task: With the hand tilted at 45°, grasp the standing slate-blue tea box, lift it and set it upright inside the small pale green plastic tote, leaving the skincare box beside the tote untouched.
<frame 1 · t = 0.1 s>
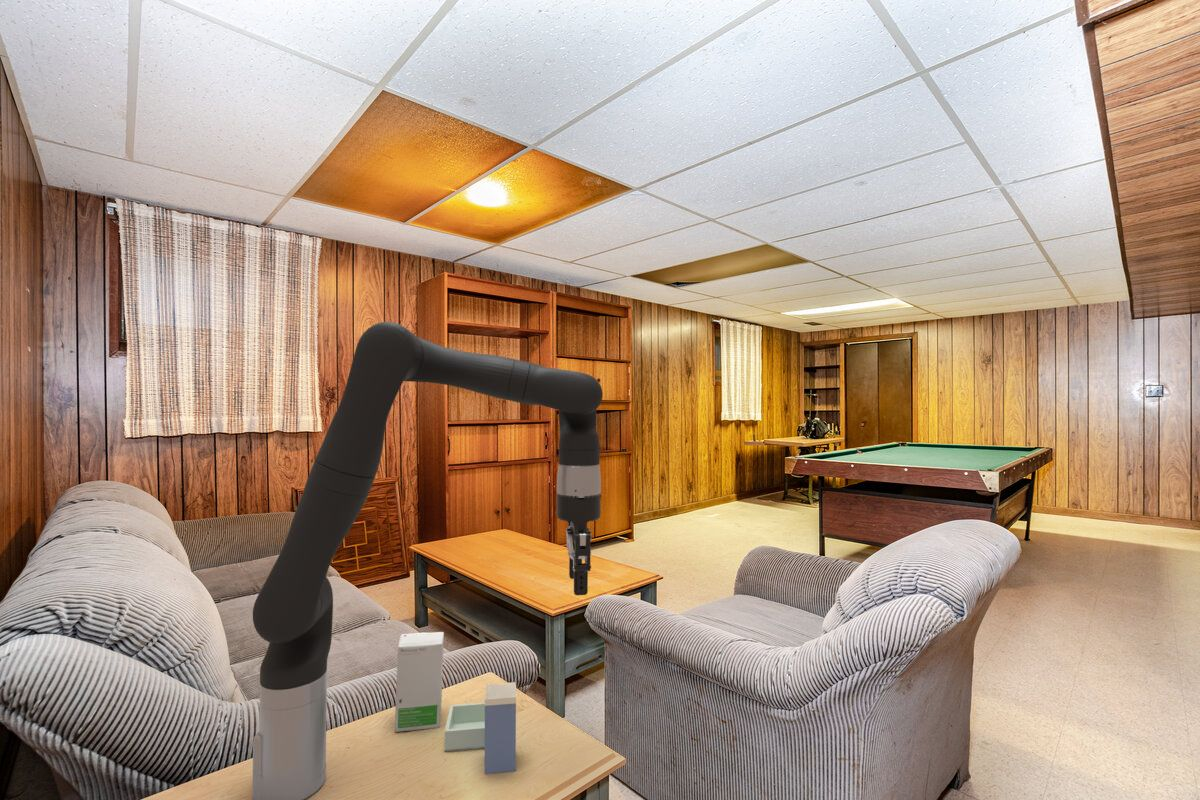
hand: (577, 586, 93), 29 cm above the table, tool pointing down, fingers open, 8 cm apart
tote: (474, 734, 99), on the table
tea box: (500, 763, 91), on the table
skincare box: (419, 721, 104), on the table
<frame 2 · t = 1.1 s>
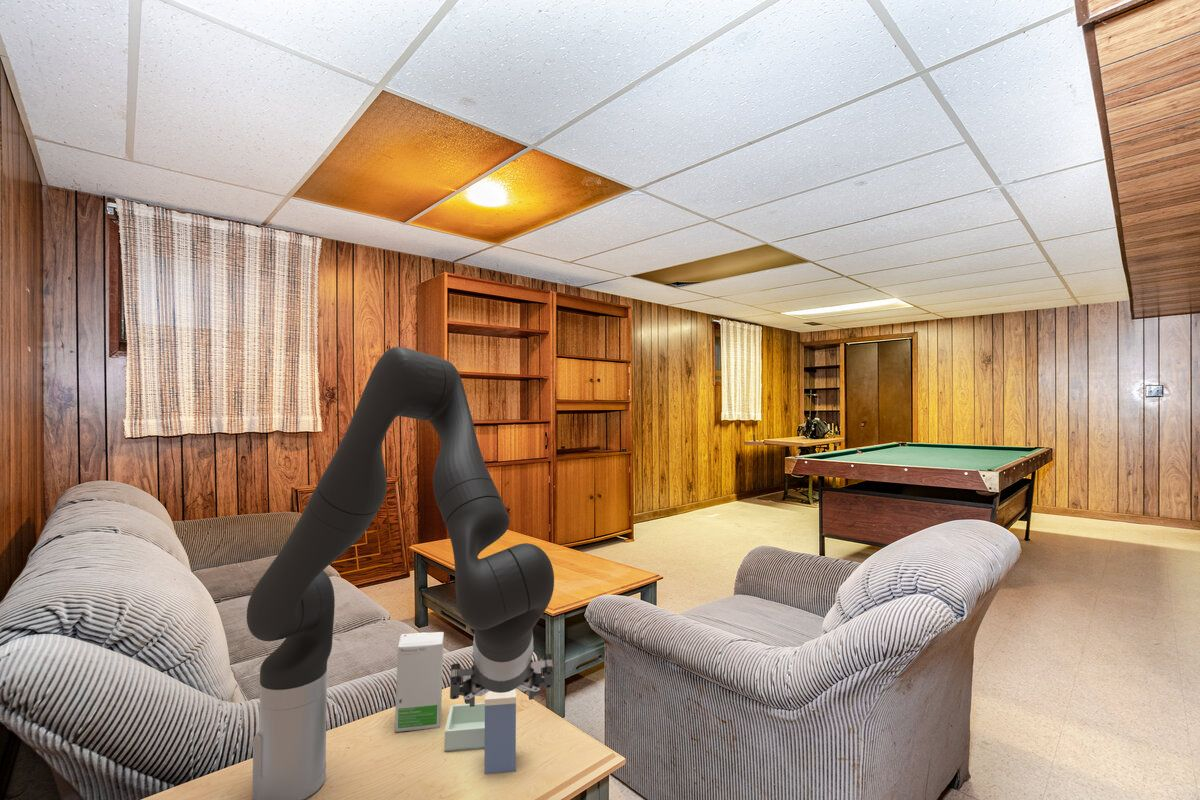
hand: (501, 696, 81), 17 cm above the table, tool tilted 45°, fingers open, 8 cm apart
nothing on the table moved.
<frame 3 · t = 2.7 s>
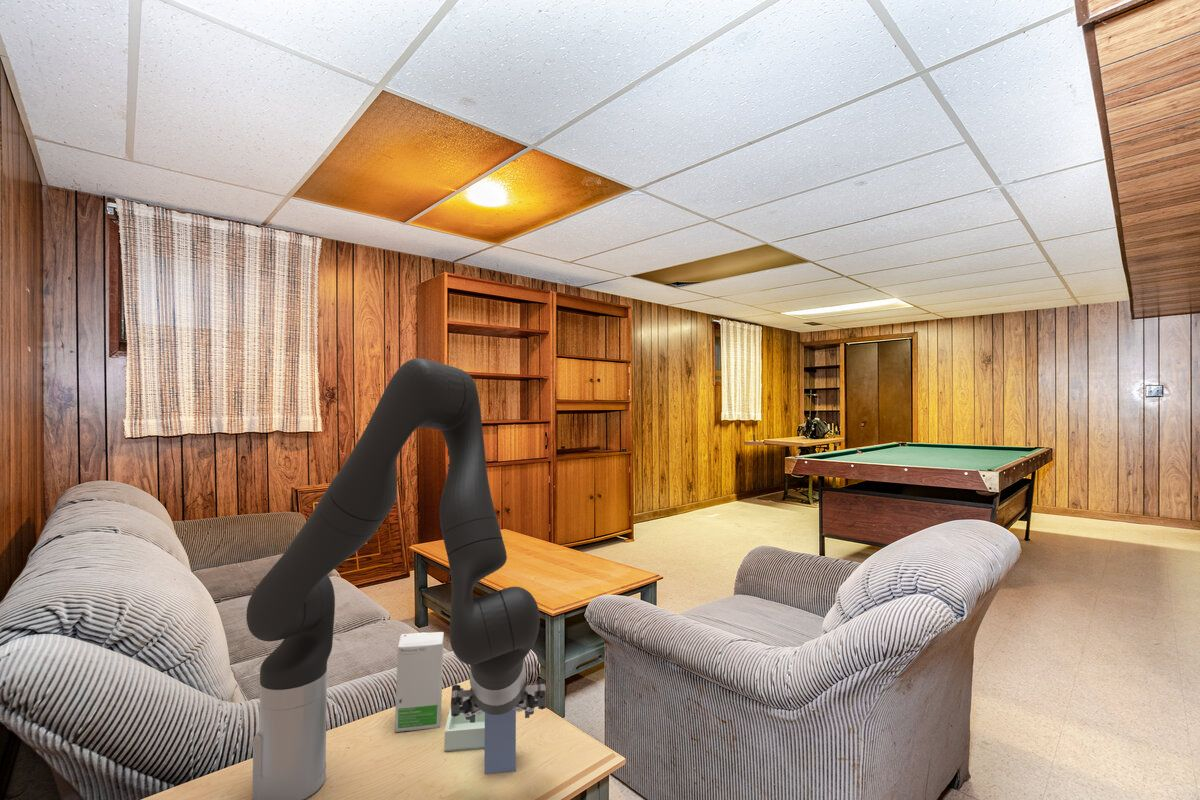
hand: (500, 713, 88), 10 cm above the table, tool tilted 45°, fingers open, 8 cm apart
nothing on the table moved.
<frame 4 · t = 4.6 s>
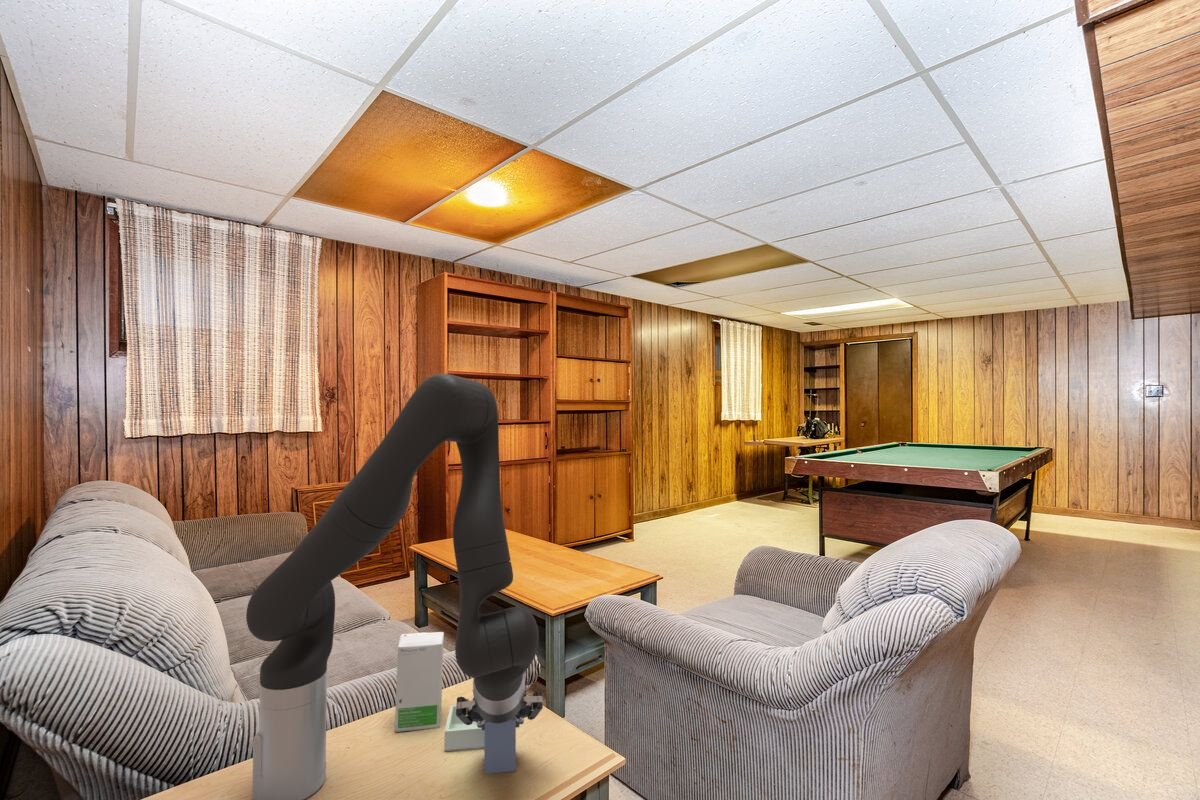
hand: (500, 722, 93), 6 cm above the table, tool tilted 45°, fingers closed on tea box, 5 cm apart
tea box: (500, 762, 91), on the table, touching gripper
everything else where it was.
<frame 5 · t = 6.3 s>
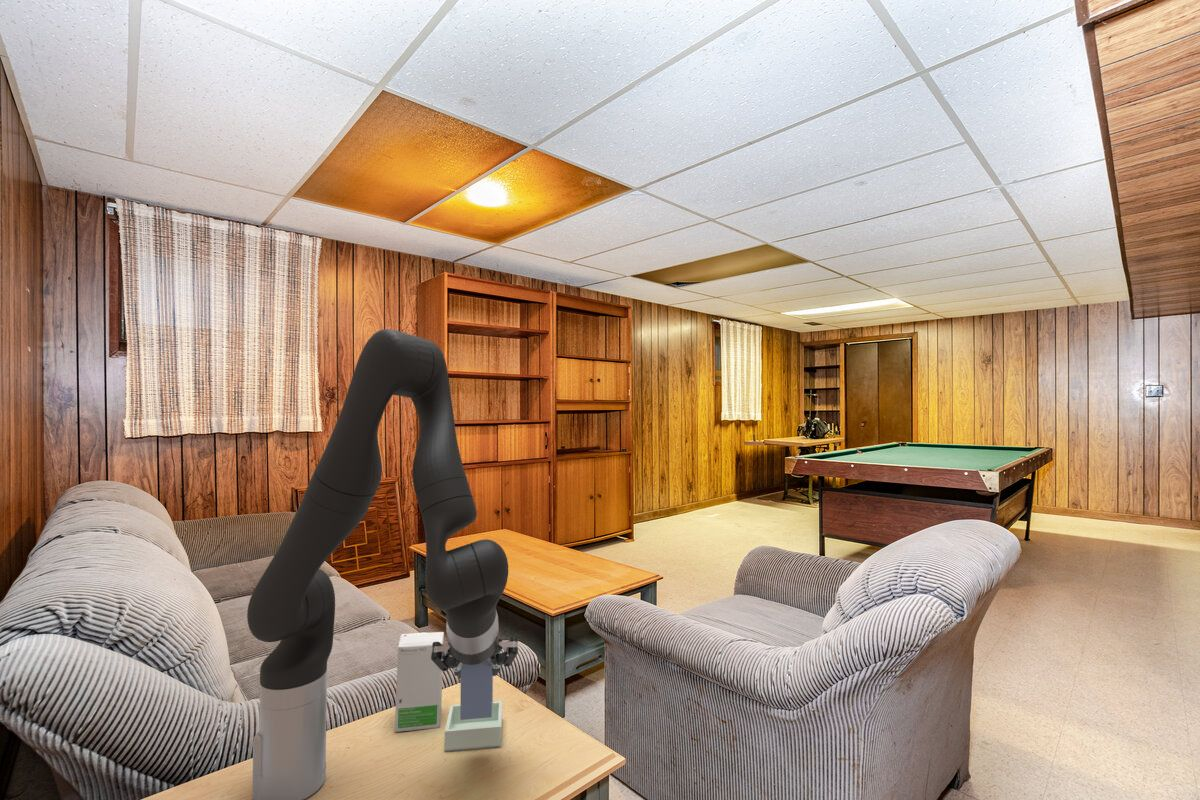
hand: (477, 671, 94), 14 cm above the table, tool tilted 45°, fingers closed on tea box, 5 cm apart
tea box: (477, 710, 92), point 8 cm above the table, touching gripper
everything else where it was.
when the fingers open (7 cm above the table, at t = 8.4 s): tea box drops 1 cm, resting on tote.
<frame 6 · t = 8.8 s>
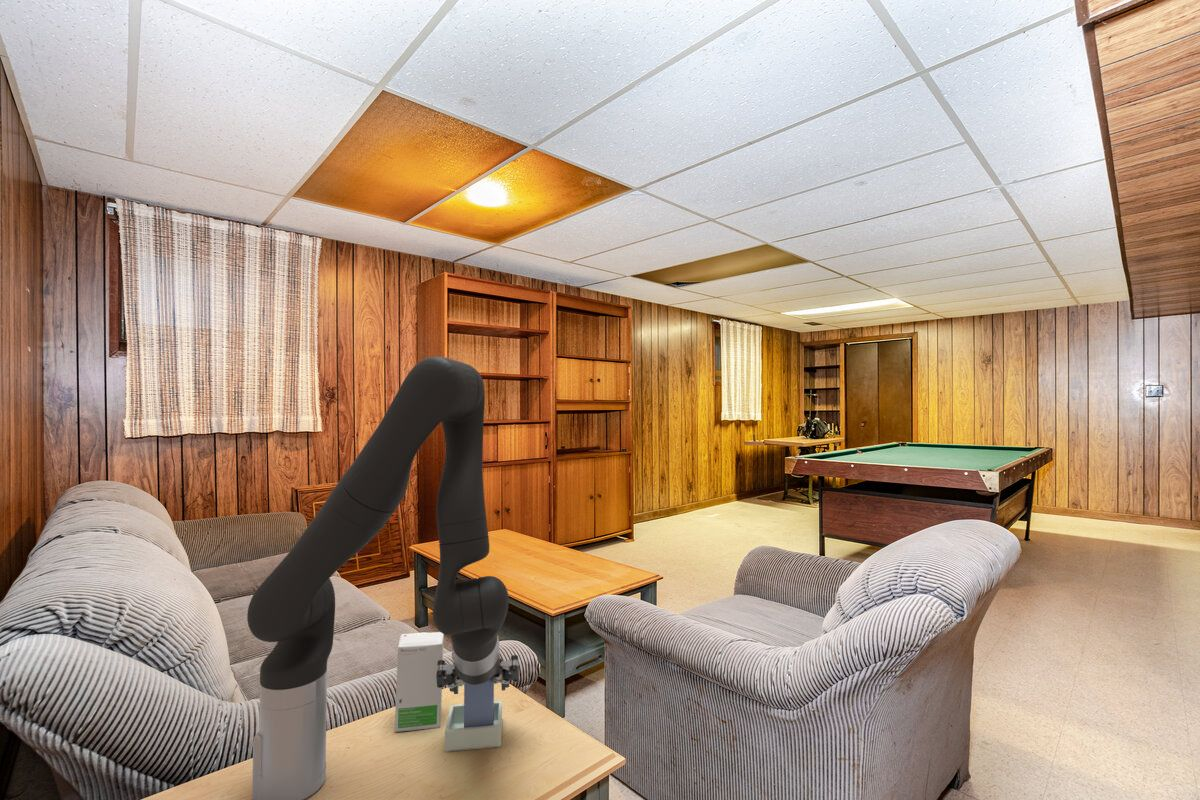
hand: (480, 686, 101), 8 cm above the table, tool tilted 45°, fingers open, 8 cm apart
tea box: (479, 733, 99), resting on tote
everything else where it was.
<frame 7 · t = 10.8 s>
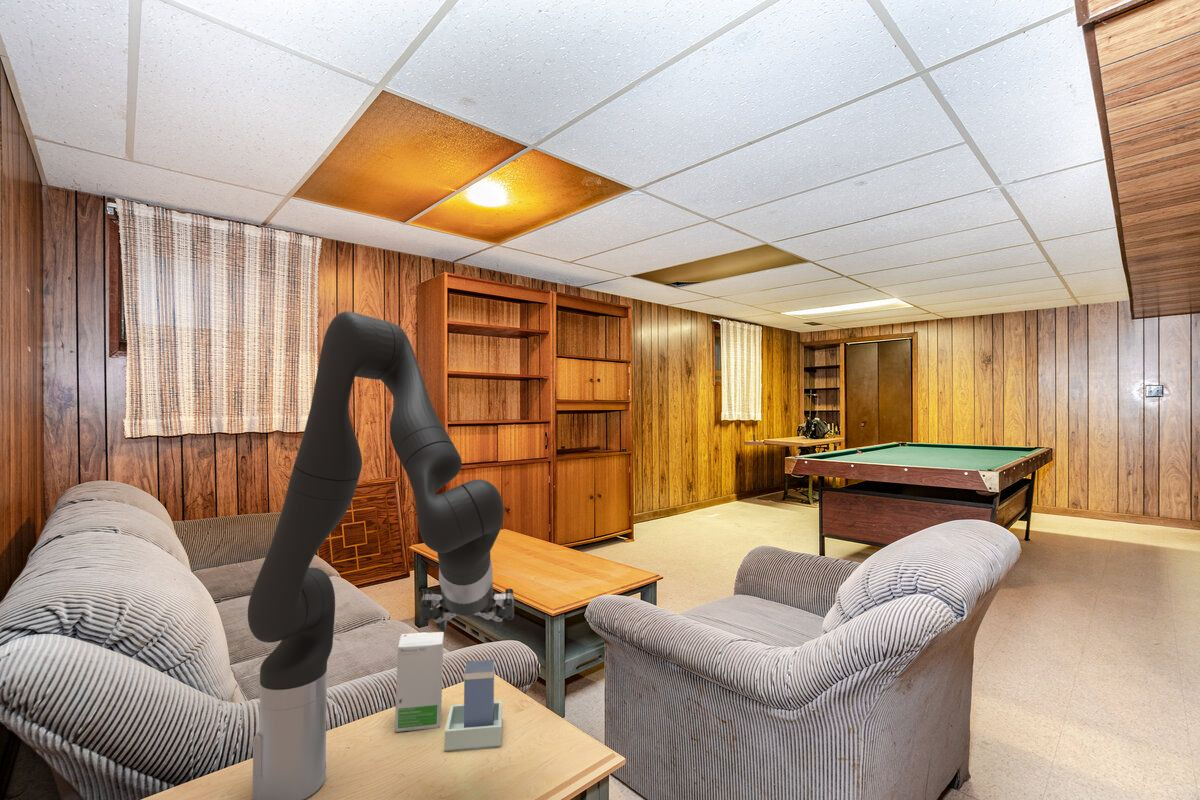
hand: (470, 625, 91), 23 cm above the table, tool tilted 45°, fingers open, 8 cm apart
nothing on the table moved.
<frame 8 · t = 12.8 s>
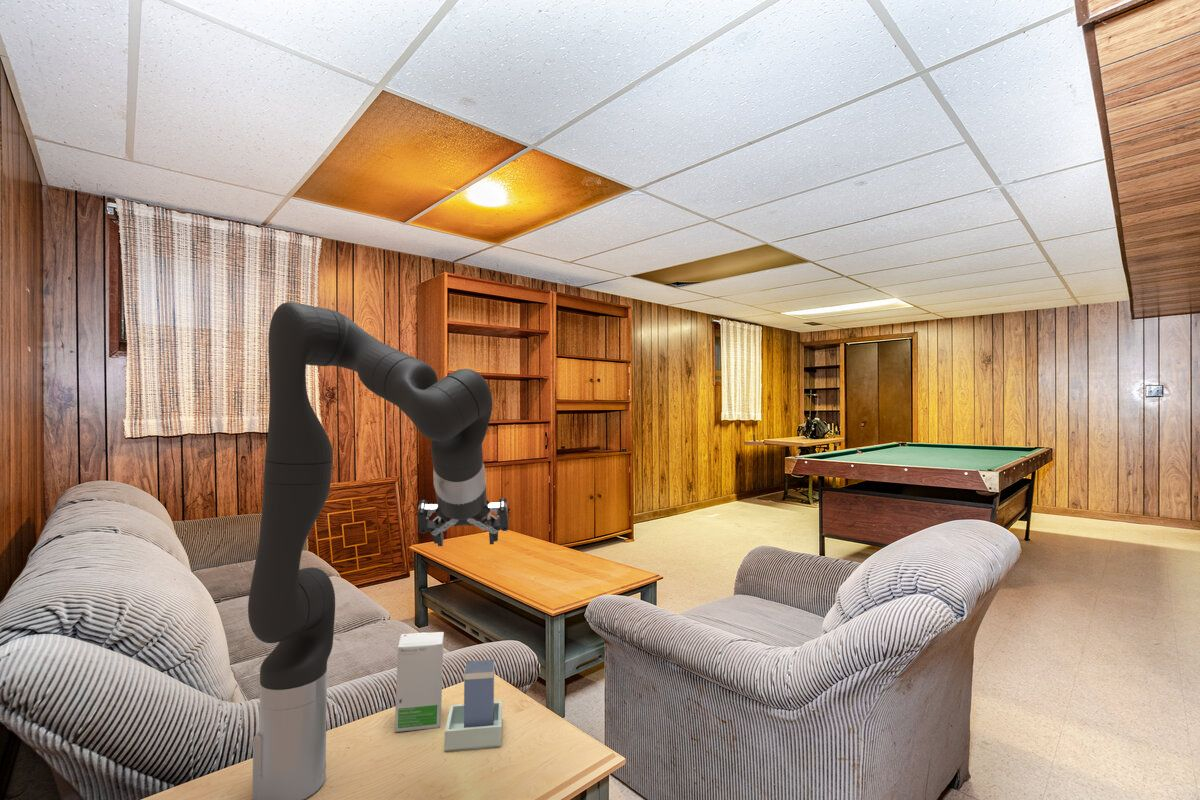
hand: (466, 540, 94), 37 cm above the table, tool tilted 45°, fingers open, 8 cm apart
nothing on the table moved.
at the end: tea box inside the target area (0.8 cm from its centre), resting on tote; tea box tilted 0° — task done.
